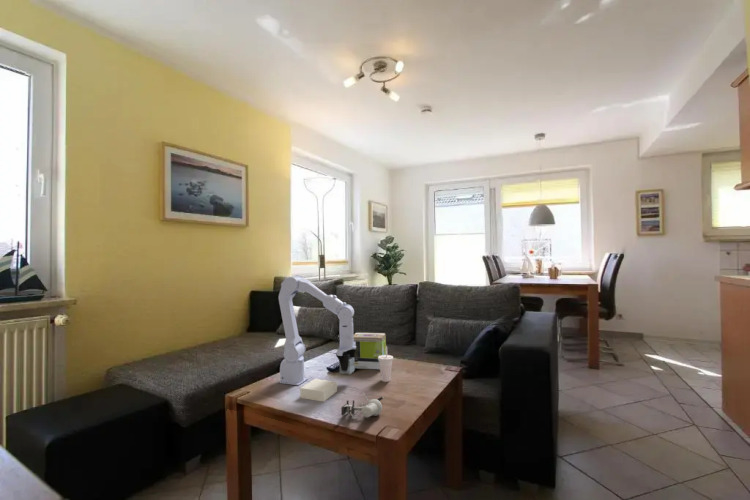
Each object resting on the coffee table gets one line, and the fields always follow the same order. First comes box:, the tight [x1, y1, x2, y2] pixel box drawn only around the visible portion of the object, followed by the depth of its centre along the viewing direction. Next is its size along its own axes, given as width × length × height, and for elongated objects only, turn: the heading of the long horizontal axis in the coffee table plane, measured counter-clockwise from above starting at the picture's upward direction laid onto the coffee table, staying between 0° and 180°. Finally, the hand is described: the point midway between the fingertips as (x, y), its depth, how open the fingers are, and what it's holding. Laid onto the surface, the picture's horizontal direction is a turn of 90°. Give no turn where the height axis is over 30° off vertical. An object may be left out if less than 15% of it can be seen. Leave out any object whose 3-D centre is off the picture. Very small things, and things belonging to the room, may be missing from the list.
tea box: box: [353, 332, 387, 370], centre depth 165 cm, size 15×10×15 cm
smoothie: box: [378, 345, 394, 383], centre depth 146 cm, size 6×6×14 cm
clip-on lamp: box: [340, 391, 386, 420], centre depth 117 cm, size 12×6×18 cm
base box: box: [299, 378, 338, 403], centre depth 133 cm, size 10×10×4 cm
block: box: [339, 357, 356, 375], centre depth 143 cm, size 5×5×6 cm
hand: (347, 368), depth 143 cm, fingers closed on block, 5 cm apart
